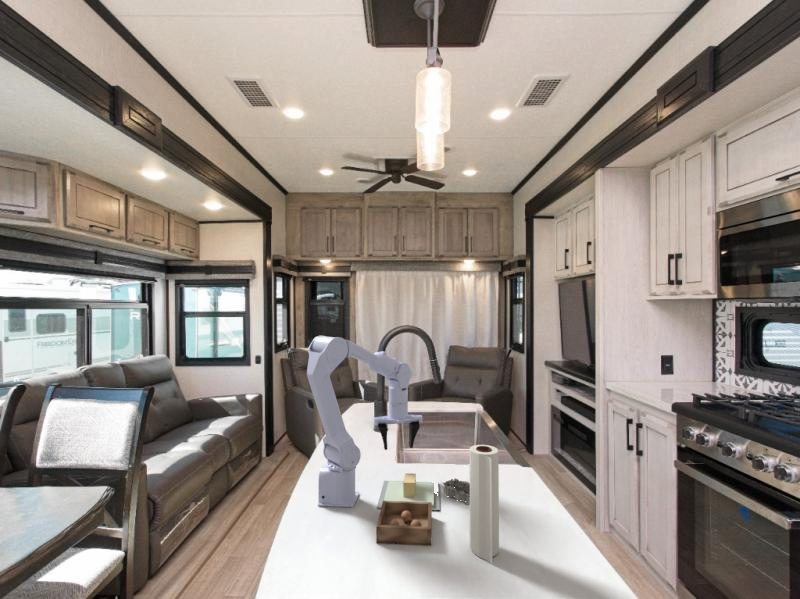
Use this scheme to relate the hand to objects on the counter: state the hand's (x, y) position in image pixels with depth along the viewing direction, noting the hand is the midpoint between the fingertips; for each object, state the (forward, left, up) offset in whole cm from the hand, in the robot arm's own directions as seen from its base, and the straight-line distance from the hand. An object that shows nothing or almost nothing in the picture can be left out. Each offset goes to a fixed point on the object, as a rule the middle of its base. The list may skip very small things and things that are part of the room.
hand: (398, 447), depth 122 cm
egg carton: (+19, -10, -10) cm, 23 cm away
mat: (+4, -10, -9) cm, 14 cm away
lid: (+4, -11, -9) cm, 14 cm away
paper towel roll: (+21, -34, -10) cm, 41 cm away
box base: (+4, -27, -9) cm, 29 cm away
